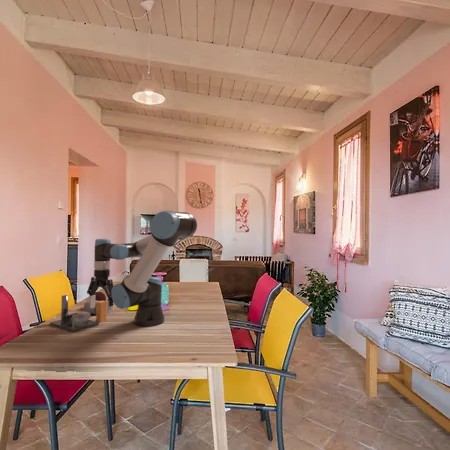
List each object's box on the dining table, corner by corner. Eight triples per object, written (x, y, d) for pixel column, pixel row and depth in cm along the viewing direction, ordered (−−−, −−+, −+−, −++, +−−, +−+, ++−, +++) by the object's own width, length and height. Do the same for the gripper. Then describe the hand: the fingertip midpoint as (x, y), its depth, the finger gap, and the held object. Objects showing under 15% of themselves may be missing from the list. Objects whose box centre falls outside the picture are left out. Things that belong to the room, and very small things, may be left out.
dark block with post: (98, 324, 150) (98, 298, 150) (73, 332, 139) (73, 303, 139) (74, 318, 160) (75, 293, 160) (49, 324, 149) (50, 298, 149)
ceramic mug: (95, 316, 164) (95, 302, 164) (83, 314, 166) (83, 300, 167) (108, 311, 174) (108, 298, 174) (96, 310, 177) (97, 296, 177)
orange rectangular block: (106, 320, 156) (106, 301, 156) (100, 322, 154) (100, 302, 154) (101, 319, 158) (102, 300, 158) (96, 321, 155) (96, 301, 155)
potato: (86, 310, 175) (87, 294, 176) (94, 304, 187) (94, 289, 187) (102, 310, 176) (102, 294, 176) (108, 304, 188) (108, 289, 188)
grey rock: (94, 323, 148) (95, 311, 148) (79, 328, 141) (80, 315, 141) (87, 321, 151) (87, 309, 151) (72, 326, 144) (72, 313, 144)
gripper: (124, 270, 153) (123, 312, 153) (93, 265, 166) (91, 304, 166) (112, 272, 146) (111, 316, 146) (80, 267, 159) (79, 307, 159)
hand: (100, 310), depth 156 cm, fingers open, 13 cm apart
